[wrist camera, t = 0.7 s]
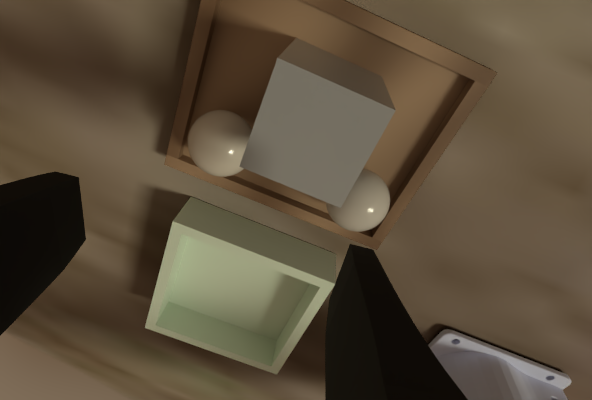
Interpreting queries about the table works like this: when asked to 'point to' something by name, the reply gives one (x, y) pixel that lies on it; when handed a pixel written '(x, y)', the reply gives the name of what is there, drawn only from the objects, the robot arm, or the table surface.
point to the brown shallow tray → (347, 45)
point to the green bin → (238, 286)
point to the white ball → (363, 204)
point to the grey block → (317, 123)
